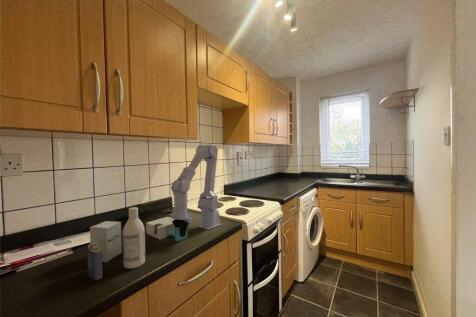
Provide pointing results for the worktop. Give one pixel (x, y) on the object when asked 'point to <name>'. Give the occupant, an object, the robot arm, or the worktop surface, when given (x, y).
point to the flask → (94, 262)
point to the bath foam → (133, 241)
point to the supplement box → (107, 238)
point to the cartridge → (175, 233)
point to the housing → (159, 227)
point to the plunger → (156, 227)
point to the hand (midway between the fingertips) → (181, 235)
